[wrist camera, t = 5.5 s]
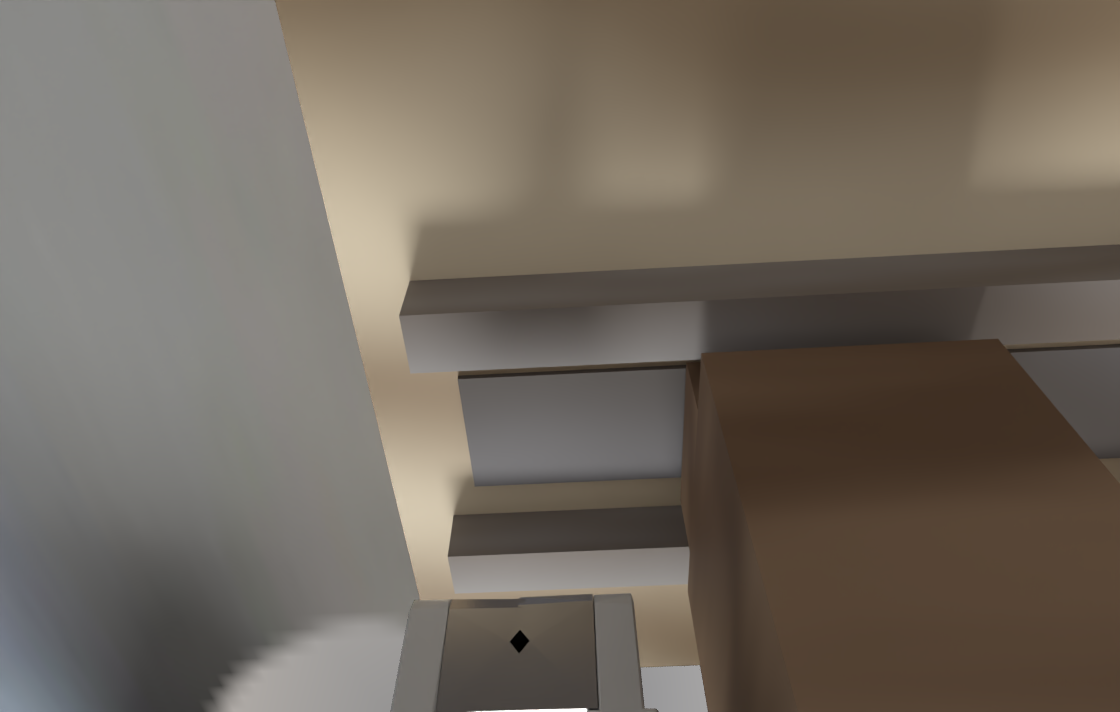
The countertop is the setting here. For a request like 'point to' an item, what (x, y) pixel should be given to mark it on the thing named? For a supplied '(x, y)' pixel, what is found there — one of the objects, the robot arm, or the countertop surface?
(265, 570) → the countertop surface
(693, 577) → the fader knob
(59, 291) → the countertop surface
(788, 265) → the slider board
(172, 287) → the countertop surface
